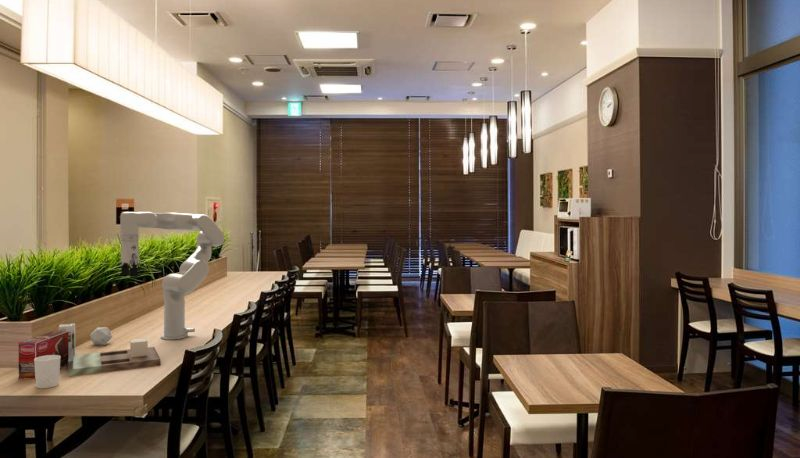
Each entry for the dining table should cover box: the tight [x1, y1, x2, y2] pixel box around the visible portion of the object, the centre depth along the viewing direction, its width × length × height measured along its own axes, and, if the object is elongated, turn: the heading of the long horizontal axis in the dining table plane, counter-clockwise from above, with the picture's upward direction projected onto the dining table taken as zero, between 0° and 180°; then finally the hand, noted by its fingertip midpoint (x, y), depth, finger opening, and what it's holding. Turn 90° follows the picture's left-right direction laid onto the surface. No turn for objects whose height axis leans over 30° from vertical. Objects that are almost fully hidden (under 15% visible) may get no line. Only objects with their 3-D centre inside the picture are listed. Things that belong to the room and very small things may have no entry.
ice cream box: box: [18, 330, 69, 380], centre depth 210 cm, size 20×6×13 cm, turn 1°
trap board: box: [67, 346, 161, 377], centre depth 221 cm, size 32×23×6 cm
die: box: [89, 326, 113, 346], centre depth 253 cm, size 8×9×10 cm
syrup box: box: [58, 323, 76, 355], centre depth 227 cm, size 6×6×14 cm
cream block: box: [129, 337, 149, 357], centre depth 226 cm, size 6×6×6 cm
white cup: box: [34, 355, 61, 389], centre depth 192 cm, size 8×8×10 cm
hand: (129, 275), depth 249 cm, fingers open, 9 cm apart
